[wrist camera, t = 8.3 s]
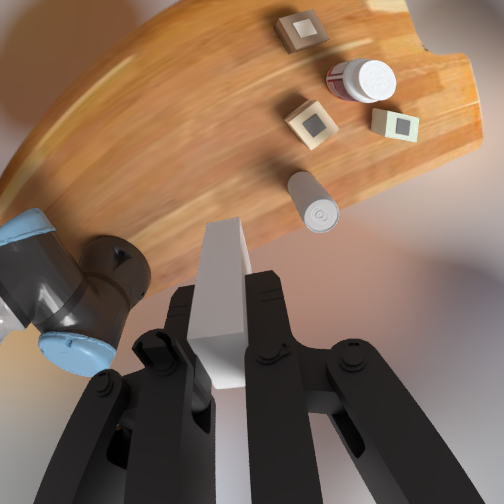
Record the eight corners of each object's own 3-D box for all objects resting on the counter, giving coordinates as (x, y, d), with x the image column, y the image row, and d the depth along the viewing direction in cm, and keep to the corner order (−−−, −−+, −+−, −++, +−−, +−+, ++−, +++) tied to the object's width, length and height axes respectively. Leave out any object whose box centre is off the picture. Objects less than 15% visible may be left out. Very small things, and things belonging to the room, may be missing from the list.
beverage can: (298, 164, 41) (319, 190, 31) (321, 181, 42) (348, 211, 32) (280, 188, 43) (295, 221, 33) (304, 203, 45) (324, 240, 34)
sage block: (370, 131, 38) (385, 136, 34) (372, 107, 36) (388, 110, 31) (400, 136, 38) (417, 142, 34) (402, 114, 36) (419, 118, 32)
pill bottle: (359, 104, 36) (396, 110, 26) (322, 96, 35) (351, 98, 25) (364, 68, 32) (402, 65, 23) (327, 59, 32) (357, 49, 22)
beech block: (303, 143, 39) (311, 150, 35) (282, 119, 37) (288, 122, 33) (328, 125, 38) (339, 129, 33) (308, 99, 35) (317, 100, 31)
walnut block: (289, 54, 31) (296, 49, 27) (273, 27, 29) (279, 18, 25) (319, 44, 31) (330, 38, 26) (304, 17, 28) (313, 8, 24)
